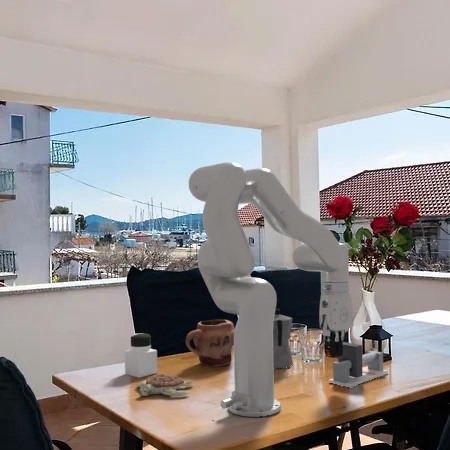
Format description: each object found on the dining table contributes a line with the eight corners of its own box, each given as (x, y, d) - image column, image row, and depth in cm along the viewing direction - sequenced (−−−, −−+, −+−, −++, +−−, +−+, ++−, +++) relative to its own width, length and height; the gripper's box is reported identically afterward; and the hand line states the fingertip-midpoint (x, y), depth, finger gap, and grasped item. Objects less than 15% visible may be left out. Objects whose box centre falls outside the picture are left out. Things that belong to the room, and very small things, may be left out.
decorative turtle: (118, 393, 146) (118, 374, 146) (164, 379, 158) (163, 362, 158) (163, 407, 134) (163, 387, 134) (209, 391, 146) (208, 372, 146)
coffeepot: (262, 360, 178) (261, 306, 178) (290, 360, 178) (289, 305, 178) (265, 372, 162) (264, 313, 163) (296, 372, 162) (295, 312, 162)
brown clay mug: (201, 374, 162) (200, 328, 162) (175, 367, 171) (175, 323, 171) (247, 362, 176) (246, 319, 176) (221, 356, 185) (220, 315, 185)
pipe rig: (350, 388, 145) (349, 365, 145) (328, 383, 150) (328, 361, 150) (387, 373, 159) (387, 352, 159) (366, 369, 164) (366, 349, 164)
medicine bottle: (157, 373, 164) (157, 333, 164) (139, 378, 159) (138, 337, 159) (143, 369, 169) (142, 331, 169) (124, 374, 164) (124, 334, 164)
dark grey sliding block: (356, 377, 149) (356, 346, 149) (338, 373, 153) (337, 343, 153) (362, 375, 151) (362, 344, 151) (344, 371, 155) (343, 342, 155)
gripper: (330, 291, 139) (331, 362, 139) (361, 286, 150) (363, 352, 150) (307, 289, 145) (308, 357, 145) (338, 284, 155) (340, 348, 155)
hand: (336, 354), depth 147 cm, fingers closed
